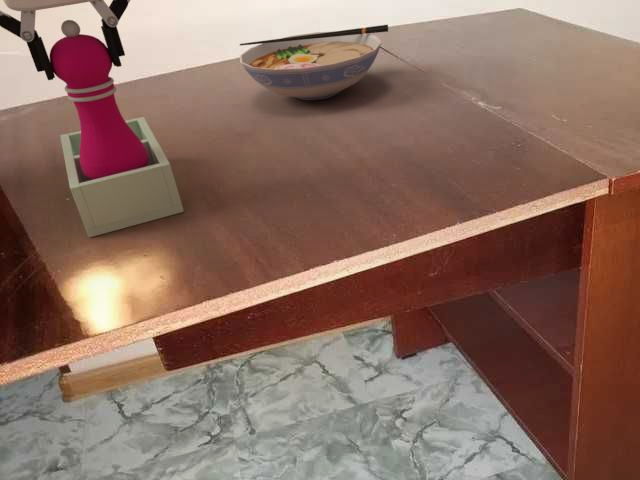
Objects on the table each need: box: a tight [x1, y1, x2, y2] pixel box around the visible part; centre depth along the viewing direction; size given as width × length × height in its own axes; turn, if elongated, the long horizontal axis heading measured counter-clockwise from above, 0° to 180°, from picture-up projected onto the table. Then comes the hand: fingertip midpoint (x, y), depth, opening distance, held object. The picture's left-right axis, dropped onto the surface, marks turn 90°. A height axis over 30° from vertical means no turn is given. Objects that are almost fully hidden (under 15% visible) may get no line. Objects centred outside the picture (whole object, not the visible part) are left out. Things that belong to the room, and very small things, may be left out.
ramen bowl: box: [239, 24, 389, 101], centre depth 113 cm, size 25×23×8 cm
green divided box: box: [59, 116, 185, 239], centre depth 85 cm, size 10×20×6 cm, turn 27°
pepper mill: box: [49, 19, 149, 180], centre depth 77 cm, size 7×7×20 cm
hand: (84, 68), depth 74 cm, fingers closed on pepper mill, 6 cm apart
